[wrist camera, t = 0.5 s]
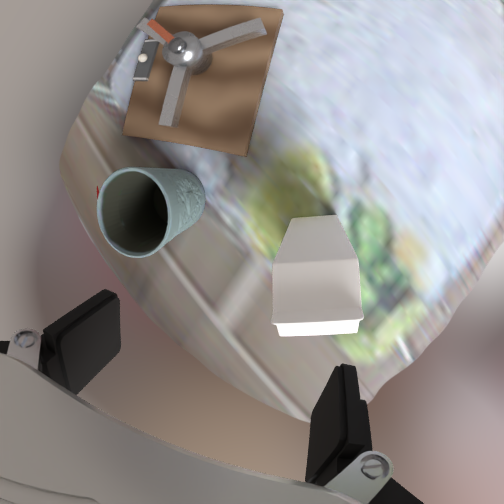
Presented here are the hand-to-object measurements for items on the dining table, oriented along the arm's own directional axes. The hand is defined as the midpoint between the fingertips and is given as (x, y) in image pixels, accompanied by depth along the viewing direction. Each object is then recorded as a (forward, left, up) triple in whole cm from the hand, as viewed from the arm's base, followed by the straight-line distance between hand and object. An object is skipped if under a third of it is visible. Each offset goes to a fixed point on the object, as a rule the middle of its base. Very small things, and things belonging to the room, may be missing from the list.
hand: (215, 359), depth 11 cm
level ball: (-19, -25, -27) cm, 41 cm away
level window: (-19, -25, -27) cm, 42 cm away
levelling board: (-18, -17, -29) cm, 38 cm away
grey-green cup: (+1, -16, -29) cm, 33 cm away
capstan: (-17, -17, -27) cm, 36 cm away
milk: (+1, +4, -29) cm, 30 cm away
